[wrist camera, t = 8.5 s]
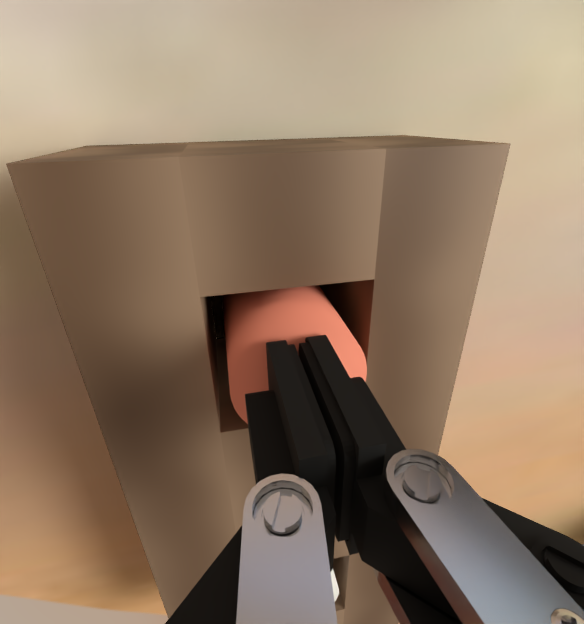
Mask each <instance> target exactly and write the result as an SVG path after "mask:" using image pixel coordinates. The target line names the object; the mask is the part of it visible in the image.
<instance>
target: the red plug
mask: <svg viewBox="0 0 584 624" xmlns="http://www.w3.org/2000/svg"><path fill="white" fill-rule="evenodd" d="M222 302H223V316H224V328H225V340H226V352H227V364H228V376H229V388H230V396H231V401H232V404H233V406H234V409H235V410H236V412H237V414H238V415H239V416H240V417H241V418H242V420H244V421H245V422H246V423H247V424H248V421H247V412H246V402H245V394H248V393H254V392H261V391H267V390H269V386H268V370H267V354H266V342H273V341H280V340H286V341H287V344H288V345H290V344H294V345H295V347H296V350H297V352H298V355H299V343H305V338H306V337H312V336H319V335H326V336H327V337H328V339H329V341H330V343H331V345H332V346H333V348H334V350H335V352H336V354H337V355H338V357H339V359H340V361H341V362H342V364H343V366H344V368H345V370H346V371H347V373H348V375H349V377H350V378H353V377H362V378H363V379H364V381H365V382H366V376H367V364H366V359H365V355H364V353H363V351H362V349H361V347H360V345H359V344H358V342H357V341H356V339H355V338H354V336H353V335H352V334H351V332H350V331H349V329H348V328H347V326H346V325H345V323H344V322H343V320H342V319H341V317H340V316H339V314H338V313H337V311H336V310H335V308H334V307H333V305H332V304H331V302H330V301H329V299H328V298H327V296H326V295H325V294H324V292H323V291H322V289H321V288H320V286H319V285H313V286H304V287H294V288H284V289H274V290H265V291H255V292H245V293H235V294H226V295H223V300H222Z"/></svg>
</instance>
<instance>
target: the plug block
mask: <svg viewBox="0 0 584 624" xmlns="http://www.w3.org/2000/svg"><path fill="white" fill-rule="evenodd" d="M509 148H510V144H508V143H495V142H483V141H470V140H458V139H445V138H433V137H420V136H407V135H398V136H368V137H338V138H308V139H278V140H248V141H218V142H189V143H159V144H129V145H99V146H84V147H80V148H75V149H71V150H66V151H62V152H57V153H53V154H48V155H44V156H39V157H34V158H30V159H25V160H21V161H16V162H12V163H7V164H6V165H7V167H8V170H9V173H10V176H11V179H12V181H13V184H14V187H15V190H16V193H17V195H18V198H19V201H20V204H21V207H22V209H23V212H24V215H25V218H26V221H27V223H28V226H29V229H30V232H31V235H32V237H33V240H34V243H35V246H36V249H37V251H38V254H39V257H40V260H41V263H42V265H43V268H44V271H45V274H46V277H47V279H48V282H49V285H50V288H51V291H52V293H53V296H54V299H55V302H56V305H57V307H58V310H59V313H60V316H61V319H62V321H63V324H64V327H65V330H66V333H67V335H68V338H69V341H70V344H71V347H72V349H73V352H74V355H75V358H76V361H77V363H78V366H79V369H80V372H81V375H82V377H83V380H84V383H85V386H86V389H87V391H88V394H89V397H90V400H91V403H92V405H93V408H94V411H95V414H96V417H97V419H98V422H99V425H100V428H101V431H102V433H103V436H104V439H105V442H106V445H107V447H108V450H109V453H110V456H111V459H112V461H113V464H114V467H115V470H116V473H117V475H118V478H119V481H120V484H121V487H122V489H123V492H124V495H125V498H126V501H127V503H128V506H129V509H130V512H131V515H132V517H133V520H134V523H135V526H136V529H137V531H138V534H139V537H140V540H141V543H142V545H143V548H144V551H145V554H146V557H147V559H148V562H149V565H150V568H151V571H152V573H153V576H154V579H155V582H156V585H157V587H158V590H159V593H160V596H161V599H162V601H163V604H164V607H165V610H166V613H167V615H168V618H170V617H171V616H172V614H173V613H174V612H175V610H176V609H177V608H178V607H179V605H180V604H181V603H182V602H183V600H184V599H185V598H186V596H187V595H188V594H189V593H190V591H191V590H192V589H193V587H194V586H195V585H196V584H197V582H198V581H199V580H200V579H201V577H202V576H203V575H204V573H205V572H206V571H207V570H208V568H209V567H210V566H211V564H212V563H213V562H214V561H215V559H216V558H217V557H218V556H219V554H220V553H221V552H222V550H223V549H224V548H225V547H226V545H227V544H228V543H229V541H230V540H231V539H232V538H233V536H234V535H235V534H236V532H237V531H238V530H239V529H240V527H241V526H242V524H243V509H244V505H245V500H246V497H247V496H248V494H249V492H250V491H251V489H252V488H253V487H254V486H255V485H256V482H255V474H254V467H253V460H252V453H251V445H250V438H249V430H248V424H247V423H246V422H245V421H244V420H242V418H241V417H240V416H239V415H238V414H237V412H236V410H235V409H234V406H233V404H232V401H231V396H230V388H229V376H228V364H227V352H226V340H225V338H223V339H216V332H215V325H214V318H213V310H212V303H211V296H216V295H226V294H235V293H245V292H255V291H265V290H274V289H284V288H294V287H304V286H313V285H319V286H320V288H321V289H322V291H323V292H324V294H325V295H326V296H327V298H328V299H329V301H330V302H331V304H332V305H333V307H334V308H335V310H336V311H337V313H338V314H339V316H340V317H341V319H342V320H343V322H344V323H345V325H346V326H347V328H348V329H349V331H350V332H351V334H352V335H353V336H354V338H355V339H356V341H357V342H358V344H359V345H360V347H361V349H362V351H363V353H364V355H365V359H366V364H367V376H366V384H367V385H368V387H369V389H370V390H371V392H372V394H373V395H374V397H375V399H376V400H377V402H378V404H379V405H380V407H381V408H382V410H383V412H384V413H385V415H386V417H387V418H388V420H389V422H390V423H391V425H392V427H393V428H394V430H395V432H396V433H397V435H398V436H399V438H400V440H401V441H402V443H403V445H404V446H405V448H406V450H407V449H421V450H425V451H429V452H432V453H434V454H436V455H438V452H439V448H440V444H441V439H442V435H443V431H444V426H445V422H446V418H447V414H448V409H449V405H450V401H451V396H452V392H453V388H454V384H455V379H456V375H457V371H458V366H459V362H460V358H461V354H462V349H463V345H464V341H465V336H466V332H467V328H468V324H469V319H470V315H471V311H472V306H473V302H474V298H475V294H476V289H477V285H478V281H479V277H480V272H481V268H482V264H483V259H484V255H485V251H486V247H487V242H488V238H489V234H490V229H491V225H492V221H493V217H494V212H495V208H496V204H497V199H498V195H499V191H500V187H501V182H502V178H503V174H504V169H505V165H506V161H507V157H508V152H509ZM333 570H334V574H335V577H336V581H337V584H338V588H339V595H338V597H337V599H336V601H335V609H336V616H337V624H399V621H398V620H397V618H396V616H395V614H394V612H393V610H392V608H391V606H390V604H389V602H388V600H387V598H386V596H385V594H384V593H383V591H382V589H381V587H380V585H379V583H378V581H377V578H376V576H375V573H374V570H373V567H371V566H369V565H368V564H366V563H365V562H363V561H362V560H361V558H360V555H359V553H357V554H352V555H349V552H348V549H347V546H346V543H345V540H344V541H340V542H338V541H337V539H336V537H335V543H334V560H333Z"/></svg>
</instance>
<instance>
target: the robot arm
mask: <svg viewBox="0 0 584 624" xmlns="http://www.w3.org/2000/svg"><path fill="white" fill-rule="evenodd" d="M266 354H267V370H268V386H269V390H267V391H261V392H254V393H248V394H245V402H246V412H247V421H248V430H249V438H250V445H251V453H252V460H253V467H254V474H255V482H256V485H255V486H254V487H253V488H252V489H251V491H250V492H249V494H248V496H247V497H246V500H245V505H244V509H243V524H242V526H241V527H240V529H239V530H238V531H237V532H236V534H235V535H234V536H233V538H232V539H231V540H230V541H229V543H228V544H227V545H226V547H225V548H224V549H223V550H222V552H221V553H220V554H219V556H218V557H217V558H216V559H215V561H214V562H213V563H212V564H211V566H210V567H209V568H208V570H207V571H206V572H205V573H204V575H203V576H202V577H201V579H200V580H199V581H198V582H197V584H196V585H195V586H194V587H193V589H192V590H191V591H190V593H189V594H188V595H187V596H186V598H185V599H184V600H183V602H182V603H181V604H180V605H179V607H178V608H177V609H176V610H175V612H174V613H173V614H172V616H171V617H170V618H169V619H168V621H167V622H166V623H165V624H337V616H336V609H335V602H334V594H333V587H332V580H331V571H332V569H333V560H334V543H335V537H336V539H337V541H338V542H340V541H344V540H345V543H346V546H347V549H348V552H349V555H352V554H357V553H359V555H360V558H361V560H362V561H363V562H365V563H366V564H368V565H369V566H371V567H373V570H374V573H375V576H376V578H377V581H378V583H379V585H380V587H381V589H382V591H383V593H384V594H385V596H386V598H387V600H388V602H389V604H390V606H391V608H392V610H393V612H394V614H395V616H396V618H397V620H398V621H399V623H400V624H584V545H582V544H580V543H578V542H576V541H574V540H573V539H571V538H569V537H567V536H565V535H563V534H561V533H559V532H556V531H554V530H552V529H550V528H547V527H545V526H543V525H541V524H539V523H536V522H534V521H532V520H530V519H527V518H525V517H523V516H521V515H519V514H516V513H514V512H512V511H510V510H507V509H505V508H503V507H501V506H499V505H496V504H494V503H492V502H490V501H487V500H485V499H483V498H481V497H480V496H479V495H478V494H477V493H476V492H475V491H474V490H473V488H472V487H471V486H470V485H469V484H468V483H467V482H466V481H465V480H464V478H463V477H462V476H461V475H460V474H459V473H458V472H457V471H456V470H455V469H454V467H453V466H451V465H450V464H449V463H448V462H447V461H446V460H445V459H443V458H441V457H440V456H438V455H436V454H434V453H432V452H429V451H425V450H421V449H407V450H406V448H405V446H404V445H403V443H402V441H401V440H400V438H399V436H398V435H397V433H396V432H395V430H394V428H393V427H392V425H391V423H390V422H389V420H388V418H387V417H386V415H385V413H384V412H383V410H382V408H381V407H380V405H379V404H378V402H377V400H376V399H375V397H374V395H373V394H372V392H371V390H370V389H369V387H368V385H367V384H366V382H365V381H364V379H363V378H362V377H353V378H350V377H349V375H348V373H347V371H346V370H345V368H344V366H343V364H342V362H341V361H340V359H339V357H338V355H337V354H336V352H335V350H334V348H333V346H332V345H331V343H330V341H329V339H328V337H327V336H326V335H319V336H312V337H306V338H305V343H299V355H298V352H297V350H296V347H295V345H294V344H290V345H288V344H287V341H286V340H280V341H273V342H266Z"/></svg>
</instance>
